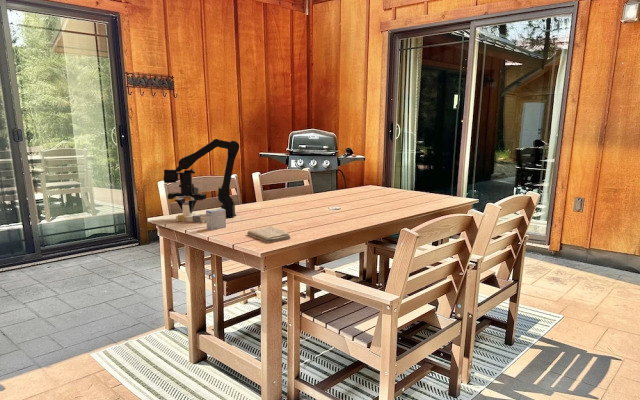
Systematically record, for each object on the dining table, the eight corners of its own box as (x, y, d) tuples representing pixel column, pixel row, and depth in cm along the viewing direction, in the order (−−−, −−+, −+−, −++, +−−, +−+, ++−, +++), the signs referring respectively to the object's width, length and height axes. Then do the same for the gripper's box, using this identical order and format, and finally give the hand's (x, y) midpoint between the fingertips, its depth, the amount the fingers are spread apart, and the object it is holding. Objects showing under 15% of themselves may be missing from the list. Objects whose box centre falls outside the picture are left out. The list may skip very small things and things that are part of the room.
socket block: (213, 217, 216) (213, 211, 215) (202, 222, 204) (202, 216, 204) (187, 216, 219) (186, 210, 218) (174, 221, 208) (174, 215, 207)
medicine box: (220, 225, 198) (219, 207, 197) (226, 227, 195) (225, 209, 194) (206, 228, 192) (205, 210, 191) (212, 230, 189) (211, 211, 188)
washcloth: (269, 244, 168) (268, 237, 168) (246, 235, 182) (245, 228, 181) (292, 239, 176) (292, 232, 175) (268, 231, 189) (268, 224, 189)
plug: (193, 215, 214) (192, 201, 213) (189, 216, 211) (188, 203, 210) (186, 215, 215) (185, 201, 214) (182, 216, 212) (182, 202, 210)
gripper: (210, 180, 216) (212, 210, 218) (177, 179, 220) (179, 209, 222) (200, 183, 205) (201, 214, 208) (165, 182, 209) (167, 213, 212)
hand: (187, 212), depth 213 cm, fingers closed on plug, 4 cm apart
